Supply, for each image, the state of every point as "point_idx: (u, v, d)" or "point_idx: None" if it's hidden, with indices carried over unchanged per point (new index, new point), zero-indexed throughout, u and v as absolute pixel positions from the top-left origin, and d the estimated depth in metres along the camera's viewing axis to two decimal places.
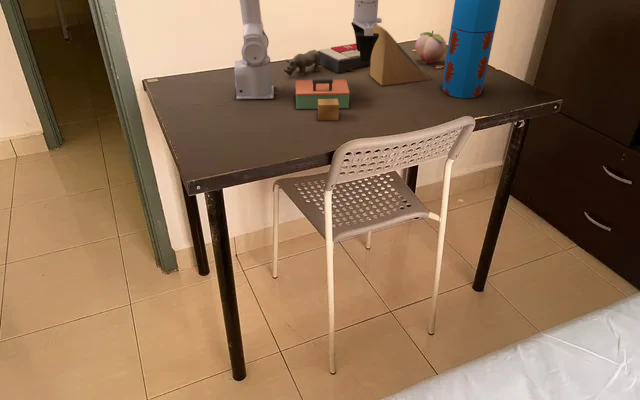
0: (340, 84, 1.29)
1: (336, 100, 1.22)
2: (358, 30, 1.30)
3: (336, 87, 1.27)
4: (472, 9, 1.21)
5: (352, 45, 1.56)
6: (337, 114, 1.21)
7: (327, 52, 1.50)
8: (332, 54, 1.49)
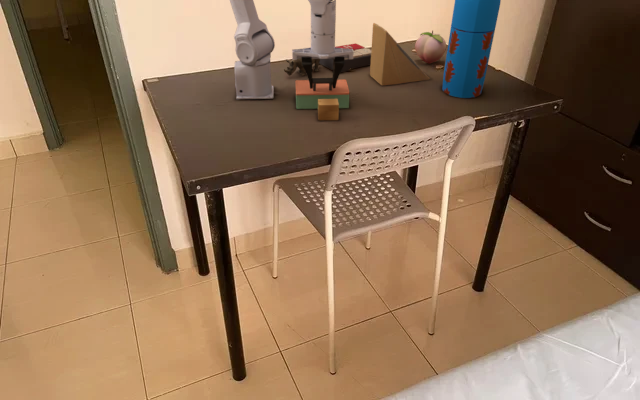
0: (340, 84, 1.29)
1: (336, 100, 1.22)
2: (333, 64, 1.23)
3: (336, 87, 1.27)
4: (472, 9, 1.21)
5: (352, 45, 1.56)
6: (337, 114, 1.21)
7: None
8: None
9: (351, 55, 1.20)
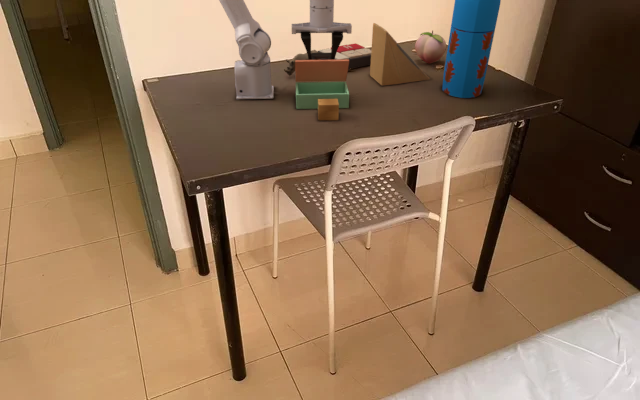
0: None
1: (336, 100, 1.22)
2: None
3: None
4: (472, 9, 1.21)
5: (352, 45, 1.57)
6: (337, 114, 1.21)
7: (327, 52, 1.50)
8: None
9: (349, 29, 1.22)
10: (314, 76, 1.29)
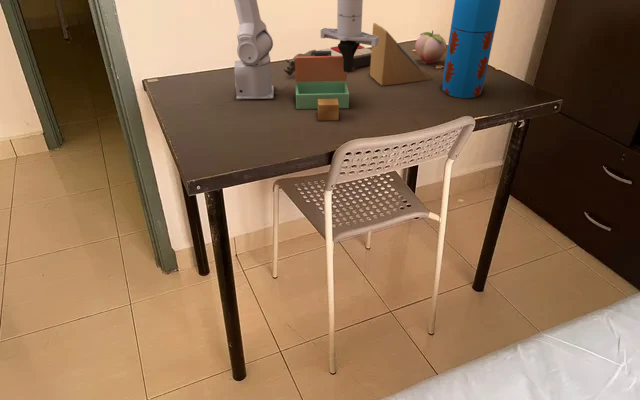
0: None
1: (336, 100, 1.22)
2: None
3: None
4: (472, 9, 1.21)
5: None
6: (337, 114, 1.21)
7: None
8: (332, 54, 1.49)
9: (373, 42, 1.16)
10: (314, 75, 1.29)
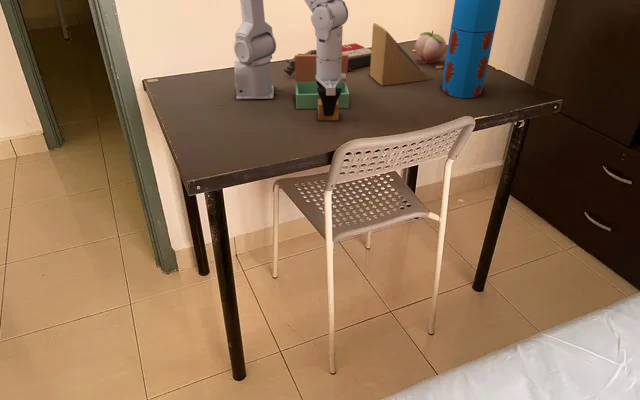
0: None
1: None
2: None
3: None
4: (472, 9, 1.21)
5: (352, 45, 1.57)
6: (337, 114, 1.21)
7: None
8: None
9: None
10: (314, 75, 1.29)
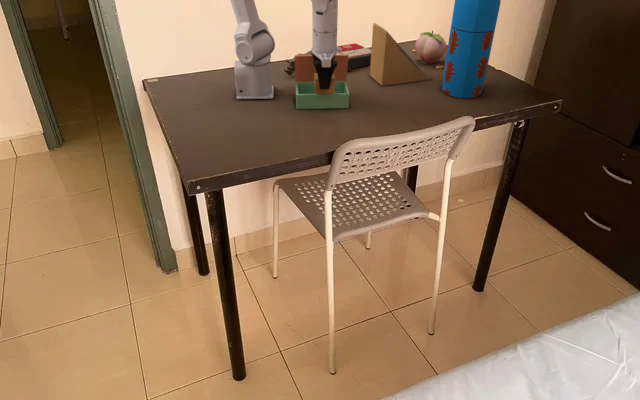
0: None
1: None
2: None
3: None
4: (472, 9, 1.21)
5: (352, 45, 1.57)
6: (333, 88, 1.23)
7: None
8: None
9: None
10: None
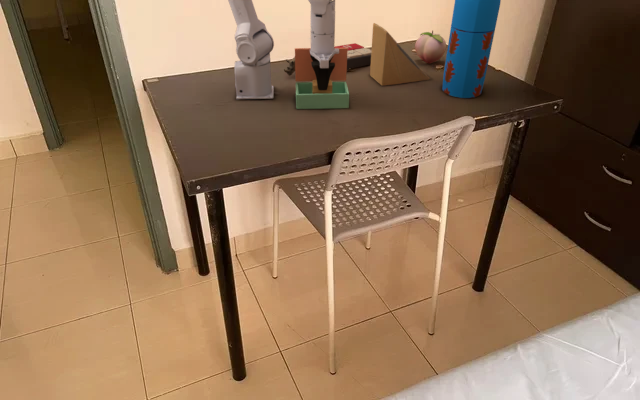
0: None
1: (330, 81, 1.27)
2: None
3: None
4: (472, 9, 1.21)
5: (351, 45, 1.57)
6: None
7: None
8: None
9: None
10: (314, 72, 1.30)
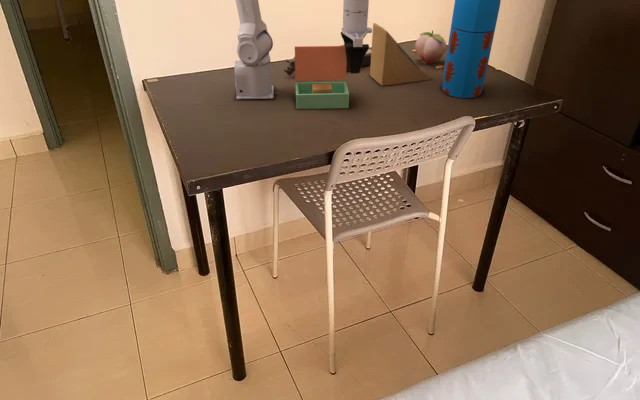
0: None
1: (330, 85, 1.28)
2: (348, 40, 1.24)
3: None
4: (472, 9, 1.21)
5: None
6: None
7: None
8: None
9: None
10: (314, 72, 1.30)
